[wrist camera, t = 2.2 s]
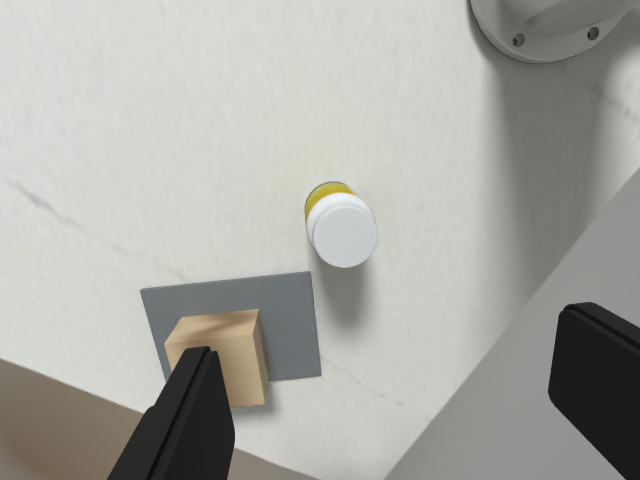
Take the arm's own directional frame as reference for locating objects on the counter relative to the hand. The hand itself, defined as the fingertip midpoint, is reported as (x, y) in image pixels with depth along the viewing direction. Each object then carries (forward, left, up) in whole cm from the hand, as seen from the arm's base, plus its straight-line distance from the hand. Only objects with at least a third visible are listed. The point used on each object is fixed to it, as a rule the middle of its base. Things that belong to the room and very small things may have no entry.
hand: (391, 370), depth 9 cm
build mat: (+10, +11, -20) cm, 25 cm away
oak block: (+11, +12, -19) cm, 25 cm away
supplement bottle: (0, 0, -20) cm, 20 cm away
